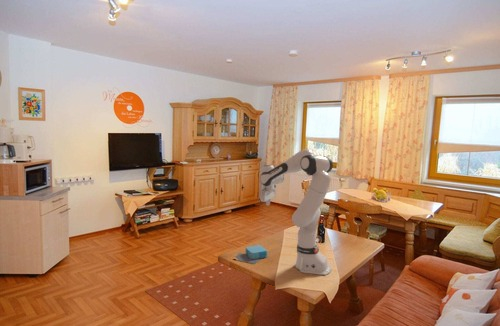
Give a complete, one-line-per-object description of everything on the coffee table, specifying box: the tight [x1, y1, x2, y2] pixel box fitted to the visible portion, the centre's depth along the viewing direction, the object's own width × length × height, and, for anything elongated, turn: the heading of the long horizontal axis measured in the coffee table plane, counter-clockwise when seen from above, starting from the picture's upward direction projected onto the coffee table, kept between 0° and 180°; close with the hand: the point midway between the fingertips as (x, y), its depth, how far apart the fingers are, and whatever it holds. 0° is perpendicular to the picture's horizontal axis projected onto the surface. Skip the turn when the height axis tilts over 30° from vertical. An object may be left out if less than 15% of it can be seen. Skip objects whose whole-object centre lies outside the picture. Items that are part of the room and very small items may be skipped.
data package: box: [245, 244, 268, 259], centre depth 213 cm, size 12×4×12 cm
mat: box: [234, 252, 262, 265], centre depth 209 cm, size 17×11×1 cm, turn 63°
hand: (268, 205), depth 227 cm, fingers closed
